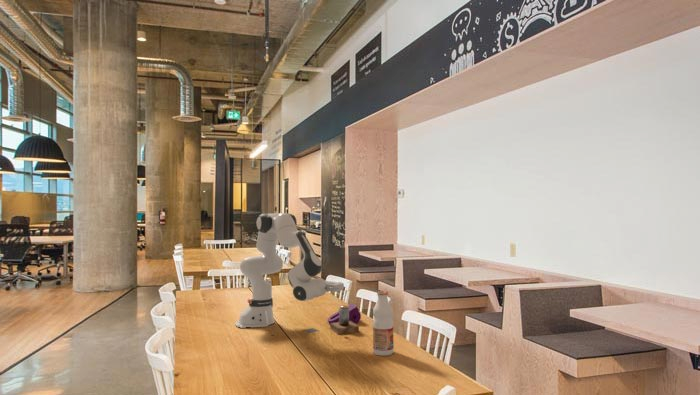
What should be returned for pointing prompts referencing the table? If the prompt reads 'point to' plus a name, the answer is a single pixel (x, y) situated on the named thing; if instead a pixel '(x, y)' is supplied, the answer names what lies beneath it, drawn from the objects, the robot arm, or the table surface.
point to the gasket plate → (310, 330)
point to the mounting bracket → (353, 315)
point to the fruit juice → (383, 326)
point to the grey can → (344, 315)
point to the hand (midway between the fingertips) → (332, 282)
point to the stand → (344, 328)
